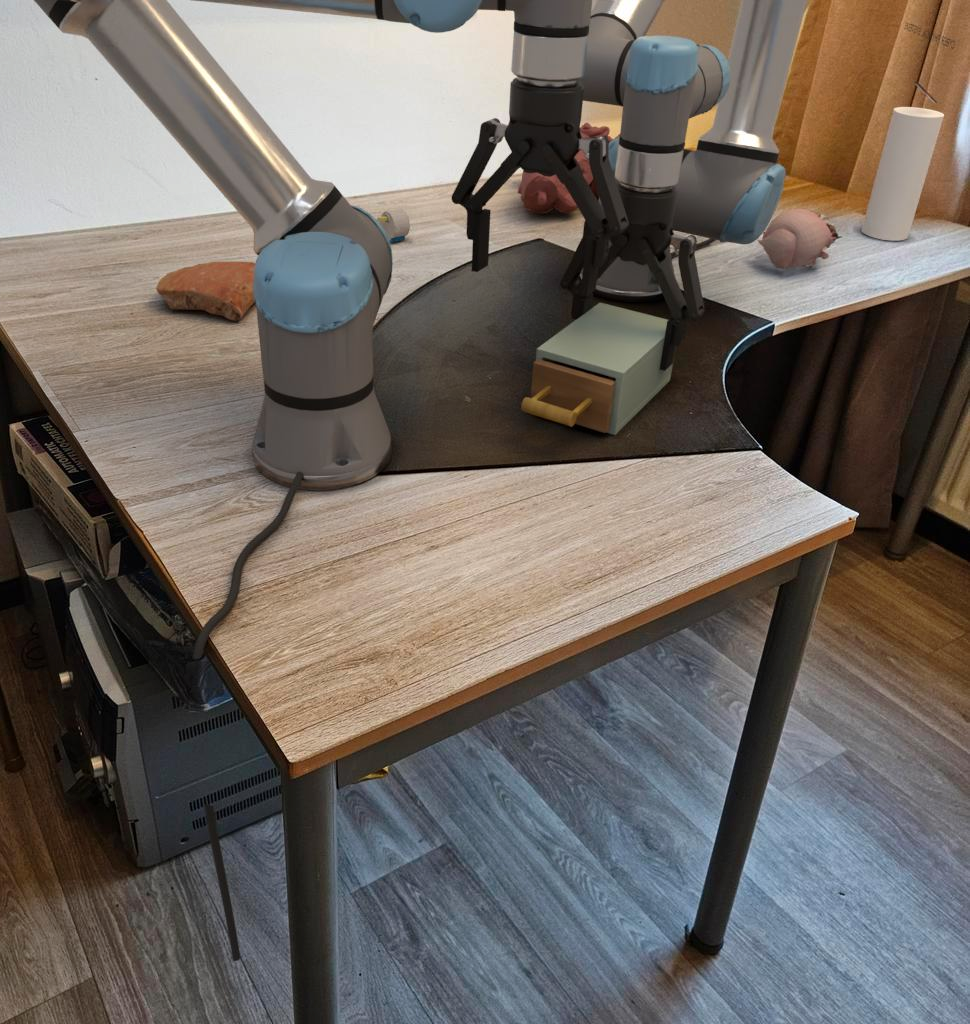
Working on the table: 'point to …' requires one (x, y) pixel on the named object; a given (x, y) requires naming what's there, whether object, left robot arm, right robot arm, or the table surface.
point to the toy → (798, 238)
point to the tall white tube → (902, 168)
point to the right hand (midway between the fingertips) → (622, 354)
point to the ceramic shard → (211, 288)
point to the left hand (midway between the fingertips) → (532, 280)
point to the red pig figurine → (549, 190)
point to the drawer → (570, 395)
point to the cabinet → (615, 355)
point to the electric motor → (395, 224)
